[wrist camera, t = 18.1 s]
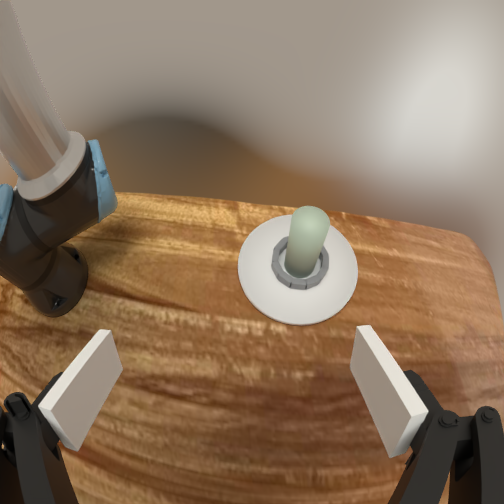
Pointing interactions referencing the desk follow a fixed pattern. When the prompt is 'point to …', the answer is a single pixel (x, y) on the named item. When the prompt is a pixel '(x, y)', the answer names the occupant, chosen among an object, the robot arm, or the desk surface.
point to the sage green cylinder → (305, 240)
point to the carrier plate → (290, 288)
